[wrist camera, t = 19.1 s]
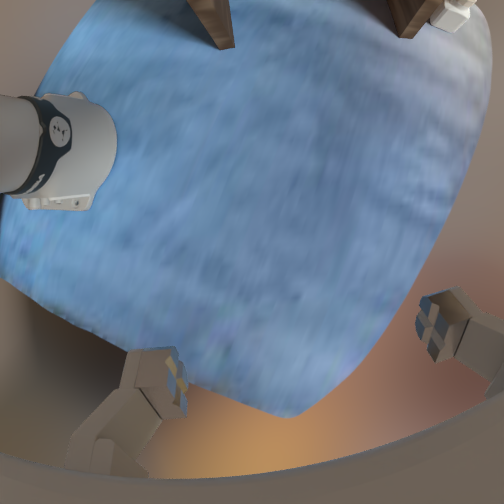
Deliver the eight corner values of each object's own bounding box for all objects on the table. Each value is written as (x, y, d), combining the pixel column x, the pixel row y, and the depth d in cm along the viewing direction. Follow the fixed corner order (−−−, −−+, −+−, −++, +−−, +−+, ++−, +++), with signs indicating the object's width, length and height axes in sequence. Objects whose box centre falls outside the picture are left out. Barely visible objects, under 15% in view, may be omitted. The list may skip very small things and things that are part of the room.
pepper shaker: (451, 15, 28) (478, -13, 19) (453, 35, 29) (482, 9, 19) (428, 6, 28) (451, -26, 19) (428, 25, 29) (454, -5, 20)
